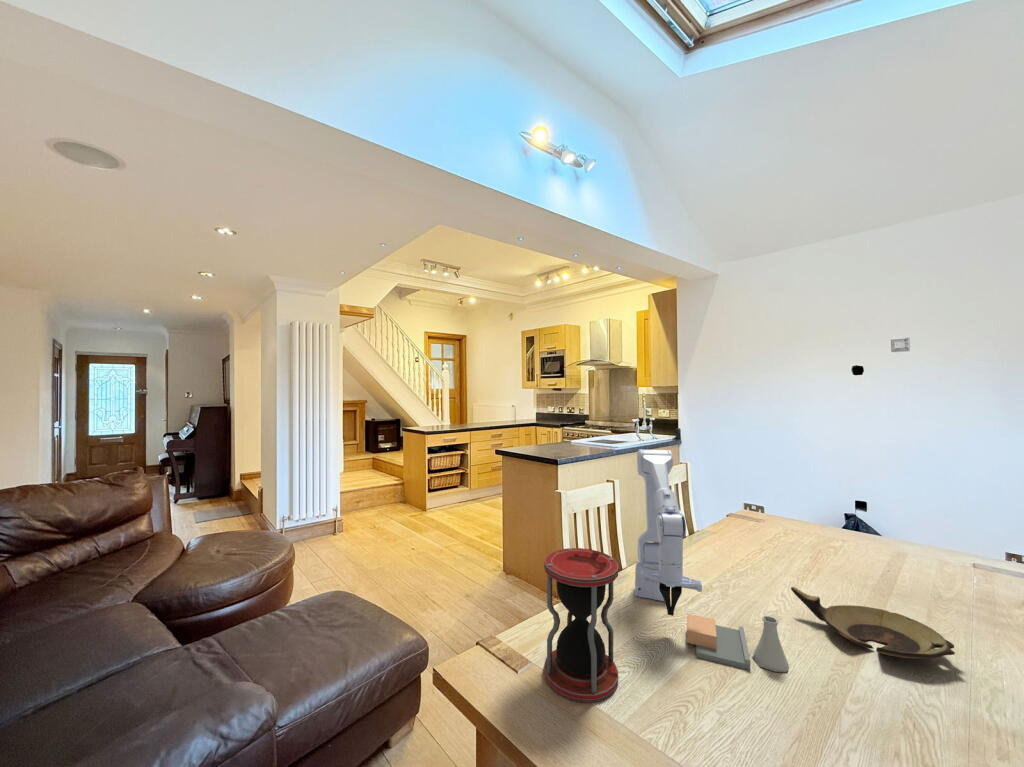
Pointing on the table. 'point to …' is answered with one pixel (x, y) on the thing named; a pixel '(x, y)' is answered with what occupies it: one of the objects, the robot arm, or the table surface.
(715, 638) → the slab
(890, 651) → the oil lamp
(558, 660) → the hourglass
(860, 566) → the table surface
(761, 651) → the flask
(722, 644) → the grey tray
